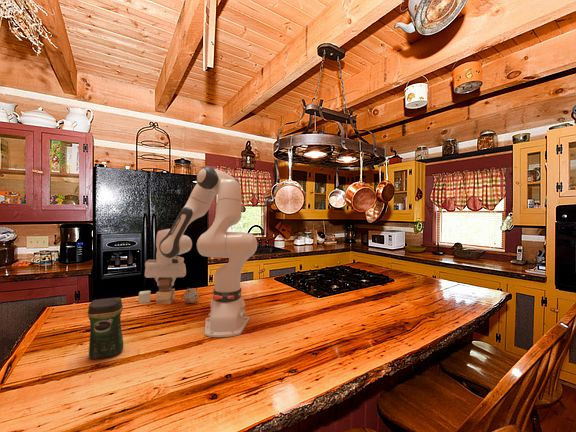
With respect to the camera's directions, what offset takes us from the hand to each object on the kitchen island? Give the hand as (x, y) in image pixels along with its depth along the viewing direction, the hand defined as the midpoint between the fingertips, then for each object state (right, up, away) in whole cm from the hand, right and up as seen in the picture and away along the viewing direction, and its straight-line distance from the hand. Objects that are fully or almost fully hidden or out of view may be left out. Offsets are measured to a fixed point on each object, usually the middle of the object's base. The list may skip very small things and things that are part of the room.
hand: (165, 285), depth 142 cm
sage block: (-11, -9, 0) cm, 14 cm away
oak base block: (0, -9, 0) cm, 9 cm away
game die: (+14, -9, -2) cm, 17 cm away
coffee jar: (+3, -10, -51) cm, 52 cm away
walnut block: (0, -2, 0) cm, 2 cm away
